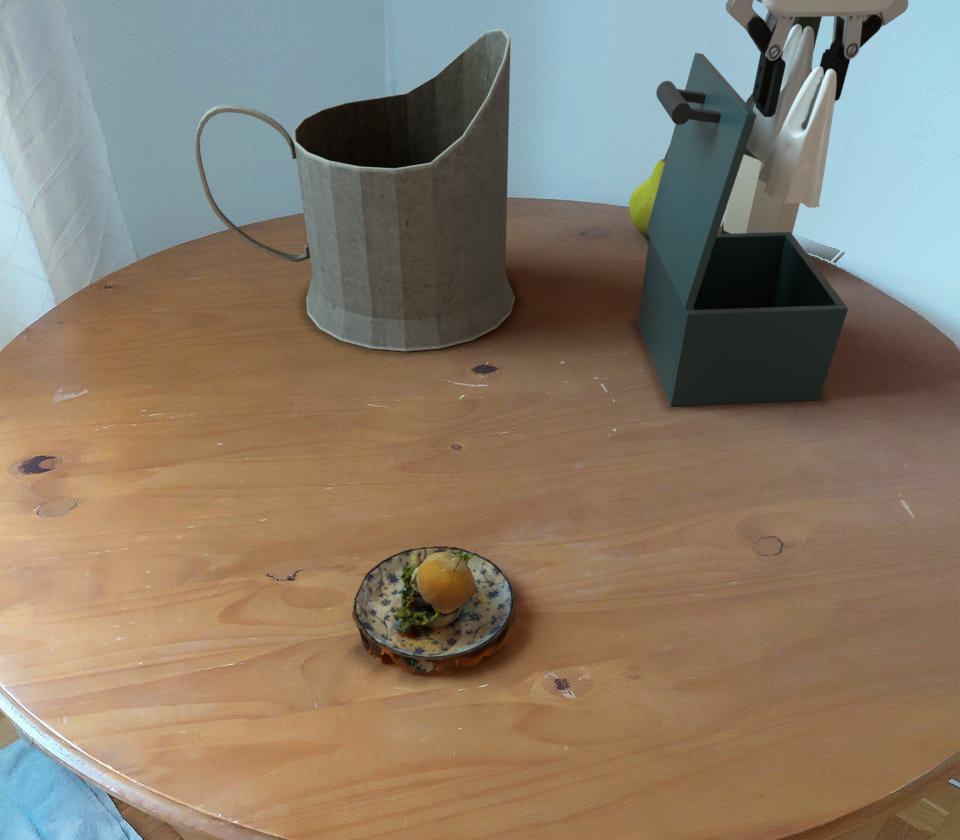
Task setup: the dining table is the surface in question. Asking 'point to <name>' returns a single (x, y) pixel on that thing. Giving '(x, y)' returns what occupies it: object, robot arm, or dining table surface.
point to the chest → (743, 324)
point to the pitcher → (405, 206)
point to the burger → (434, 609)
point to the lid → (697, 172)
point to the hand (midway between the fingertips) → (793, 108)
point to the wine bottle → (760, 186)
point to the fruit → (645, 199)
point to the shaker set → (796, 126)
